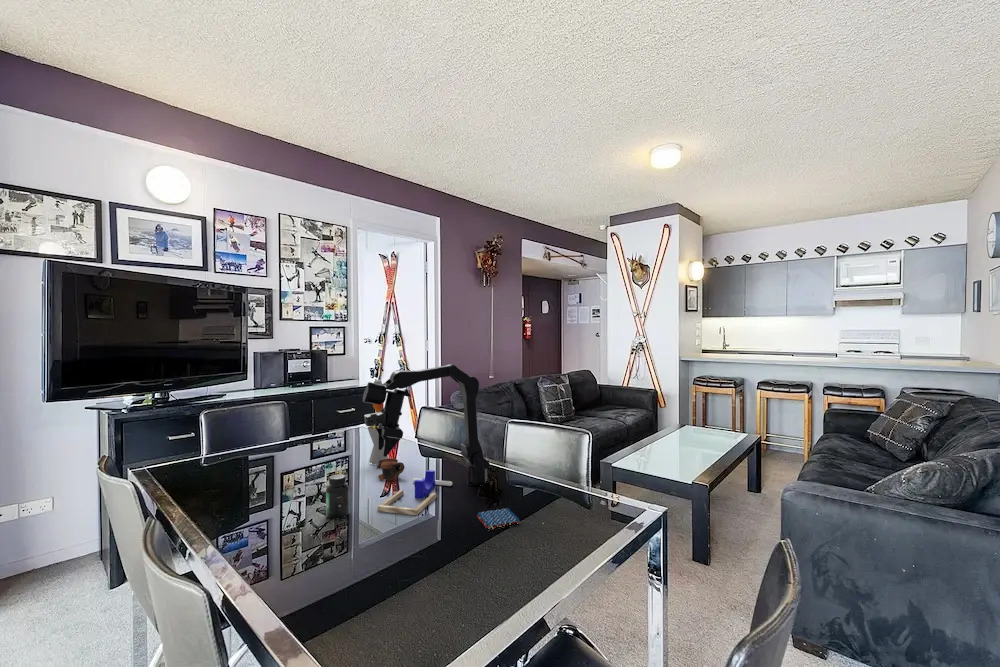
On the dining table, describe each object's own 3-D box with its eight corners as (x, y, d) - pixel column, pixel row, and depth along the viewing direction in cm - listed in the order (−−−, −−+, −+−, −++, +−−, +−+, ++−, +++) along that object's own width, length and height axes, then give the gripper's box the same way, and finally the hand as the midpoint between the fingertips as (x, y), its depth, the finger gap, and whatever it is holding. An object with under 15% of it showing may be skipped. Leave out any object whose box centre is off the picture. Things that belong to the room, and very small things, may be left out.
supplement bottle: (325, 520, 140) (324, 481, 140) (327, 512, 147) (326, 474, 147) (349, 518, 142) (348, 478, 142) (350, 509, 149) (349, 472, 148)
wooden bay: (436, 497, 158) (436, 493, 158) (416, 515, 144) (416, 510, 144) (400, 494, 162) (400, 489, 162) (377, 511, 147) (377, 506, 147)
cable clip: (423, 486, 170) (423, 469, 170) (435, 487, 169) (435, 470, 169) (410, 498, 159) (410, 480, 158) (423, 499, 158) (422, 481, 158)
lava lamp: (366, 460, 203) (365, 380, 203) (387, 457, 207) (386, 378, 206) (370, 466, 195) (368, 382, 194) (391, 463, 199) (390, 380, 198)
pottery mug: (371, 482, 176) (371, 460, 180) (385, 486, 184) (385, 465, 188) (399, 476, 173) (399, 454, 177) (412, 480, 181) (411, 459, 185)
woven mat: (475, 518, 142) (475, 511, 142) (508, 513, 146) (508, 506, 146) (486, 532, 132) (486, 525, 132) (521, 526, 136) (521, 519, 136)
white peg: (453, 485, 170) (453, 480, 170) (451, 486, 169) (451, 482, 169) (413, 481, 175) (413, 477, 174) (412, 483, 173) (411, 478, 173)
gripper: (365, 399, 164) (354, 443, 163) (374, 407, 147) (362, 457, 146) (396, 404, 169) (385, 447, 167) (408, 413, 152) (397, 461, 150)
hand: (382, 453), depth 158 cm, fingers open, 9 cm apart
